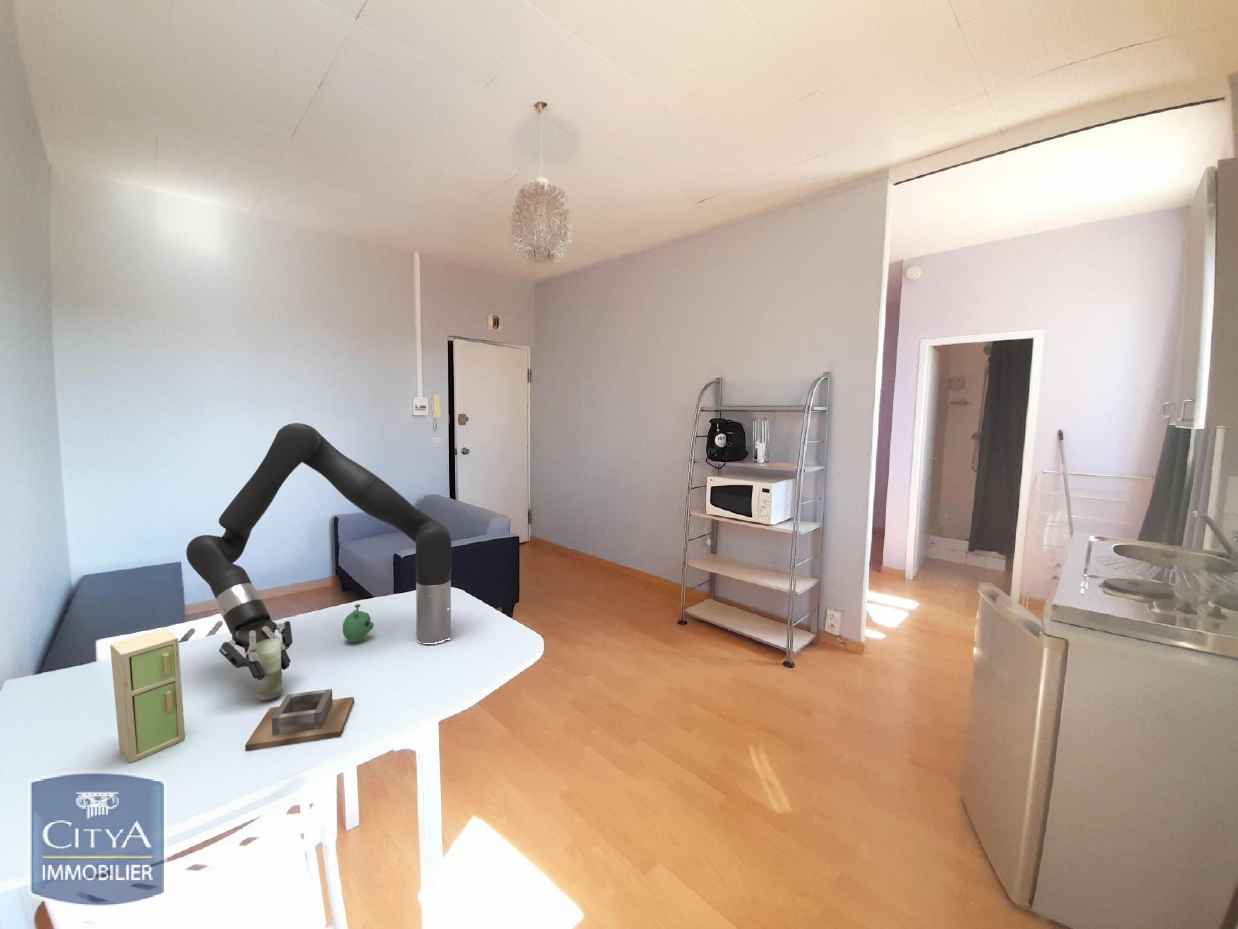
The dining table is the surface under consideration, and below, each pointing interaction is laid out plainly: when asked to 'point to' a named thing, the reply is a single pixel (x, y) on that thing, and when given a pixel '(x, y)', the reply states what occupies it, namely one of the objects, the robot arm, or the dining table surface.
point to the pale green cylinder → (269, 668)
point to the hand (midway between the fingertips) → (274, 672)
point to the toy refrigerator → (147, 693)
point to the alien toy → (357, 625)
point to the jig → (302, 720)
